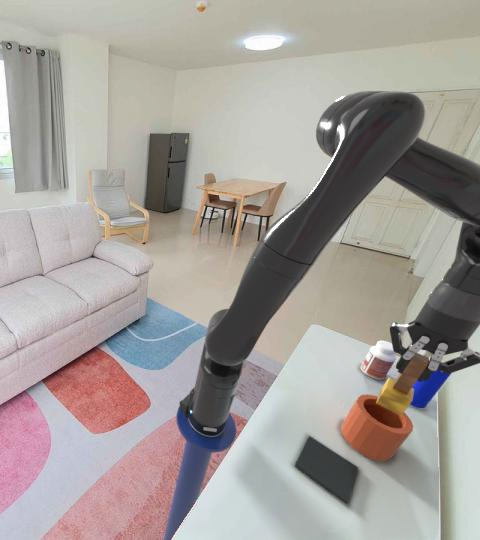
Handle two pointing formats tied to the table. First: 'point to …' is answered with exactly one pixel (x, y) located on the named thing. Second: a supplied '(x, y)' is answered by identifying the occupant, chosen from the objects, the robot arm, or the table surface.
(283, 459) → the table surface
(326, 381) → the table surface
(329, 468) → the mat
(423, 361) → the sponge brush
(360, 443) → the jar
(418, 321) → the robot arm
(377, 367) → the pill bottle
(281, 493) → the table surface
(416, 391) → the beverage can
